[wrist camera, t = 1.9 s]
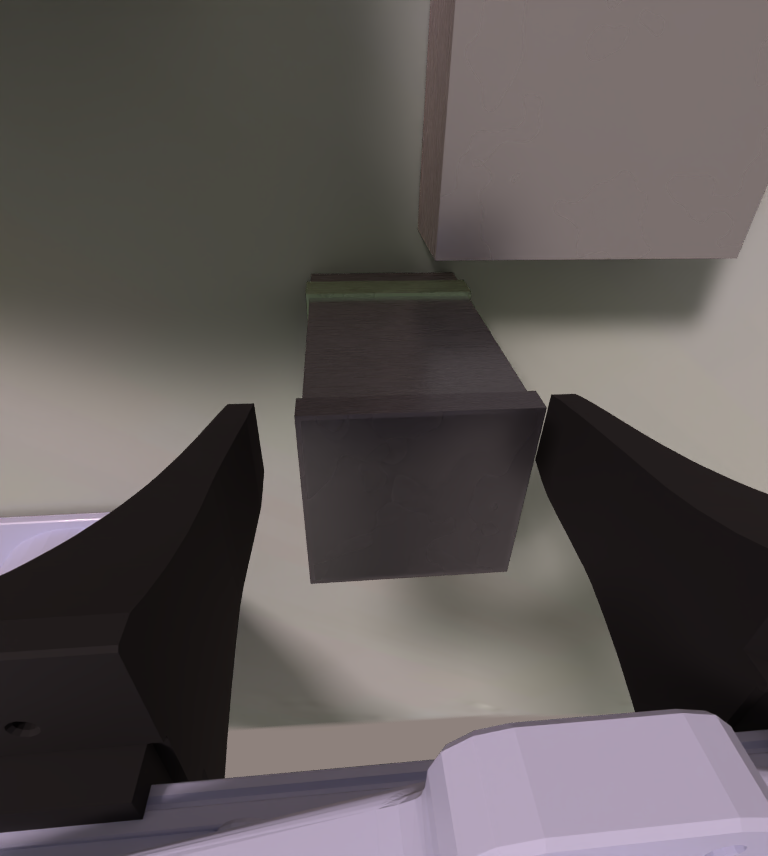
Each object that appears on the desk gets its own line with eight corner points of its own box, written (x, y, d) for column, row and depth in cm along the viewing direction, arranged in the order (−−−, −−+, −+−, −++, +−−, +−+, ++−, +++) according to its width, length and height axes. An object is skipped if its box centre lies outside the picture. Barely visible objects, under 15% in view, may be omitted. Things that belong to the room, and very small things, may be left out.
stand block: (677, 229, 16) (769, 270, 12) (417, 229, 15) (443, 273, 12) (829, -222, 11) (1053, -353, 7) (444, -254, 10) (503, -413, 7)
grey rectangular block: (443, 395, 19) (506, 571, 12) (316, 399, 18) (310, 583, 12) (456, 269, 16) (546, 407, 9) (307, 270, 15) (294, 416, 9)
